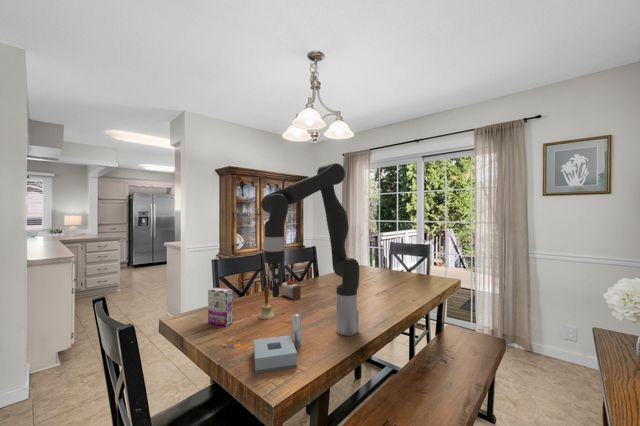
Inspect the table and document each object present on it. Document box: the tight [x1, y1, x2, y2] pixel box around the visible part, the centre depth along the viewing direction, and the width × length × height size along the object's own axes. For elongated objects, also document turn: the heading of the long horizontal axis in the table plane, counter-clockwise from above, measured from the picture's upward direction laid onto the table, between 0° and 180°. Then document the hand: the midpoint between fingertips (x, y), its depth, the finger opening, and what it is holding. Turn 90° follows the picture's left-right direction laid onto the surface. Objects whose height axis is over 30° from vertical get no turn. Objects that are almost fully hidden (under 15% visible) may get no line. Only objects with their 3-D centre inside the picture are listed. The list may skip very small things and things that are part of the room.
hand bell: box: [257, 285, 276, 320], centre depth 143 cm, size 8×8×16 cm
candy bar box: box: [207, 287, 234, 327], centre depth 134 cm, size 11×5×16 cm, turn 68°
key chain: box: [218, 336, 242, 353], centre depth 113 cm, size 13×7×1 cm, turn 36°
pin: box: [291, 313, 302, 348], centre depth 112 cm, size 4×4×12 cm
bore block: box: [253, 335, 298, 374], centre depth 101 cm, size 14×14×5 cm
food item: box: [281, 280, 302, 301], centre depth 175 cm, size 14×8×10 cm, turn 43°
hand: (274, 293), depth 101 cm, fingers open, 8 cm apart
